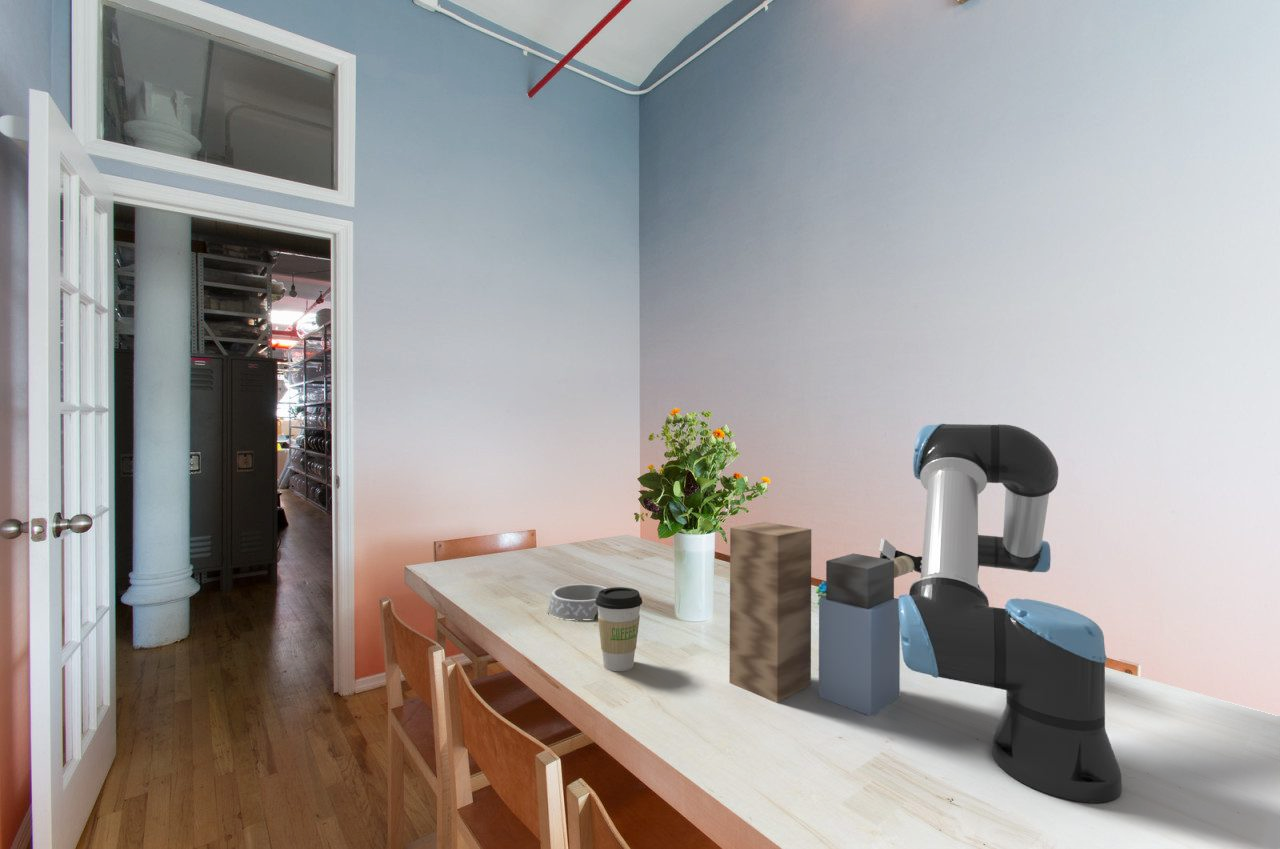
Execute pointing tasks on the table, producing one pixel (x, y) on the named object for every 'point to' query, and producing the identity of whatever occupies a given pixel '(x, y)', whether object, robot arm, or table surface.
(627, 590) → the coffee cup
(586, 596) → the dog bowl
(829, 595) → the rubber mallet
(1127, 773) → the table surface
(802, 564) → the walnut pedestal
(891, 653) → the slate stand
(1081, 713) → the robot arm
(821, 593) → the blue knobbly piece
